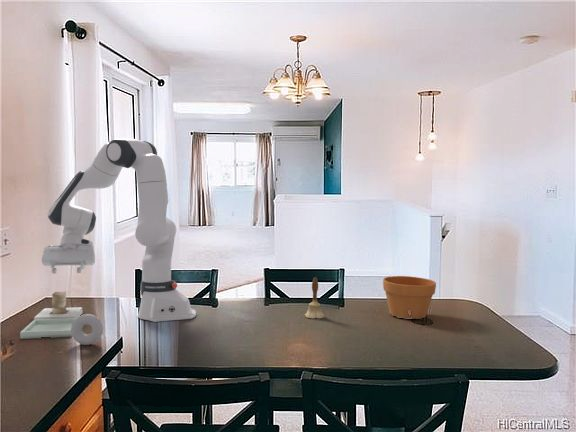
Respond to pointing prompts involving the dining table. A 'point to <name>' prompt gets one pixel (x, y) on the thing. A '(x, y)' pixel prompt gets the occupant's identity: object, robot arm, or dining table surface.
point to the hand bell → (314, 303)
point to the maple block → (59, 303)
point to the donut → (78, 333)
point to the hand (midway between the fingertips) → (66, 272)
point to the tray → (48, 328)
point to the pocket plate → (70, 313)
